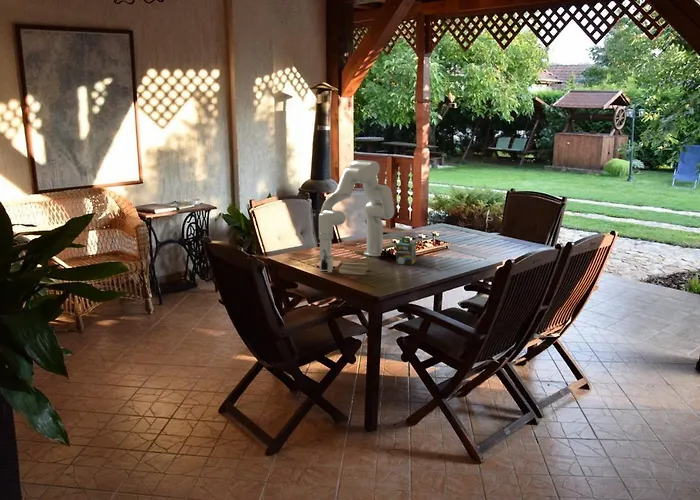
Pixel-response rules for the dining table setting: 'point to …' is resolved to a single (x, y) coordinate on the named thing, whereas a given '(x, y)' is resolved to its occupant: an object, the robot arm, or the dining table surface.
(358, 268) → the slot rack
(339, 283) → the dining table surface
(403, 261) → the chalk box
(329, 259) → the cream block
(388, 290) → the dining table surface
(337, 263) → the terracotta tile
